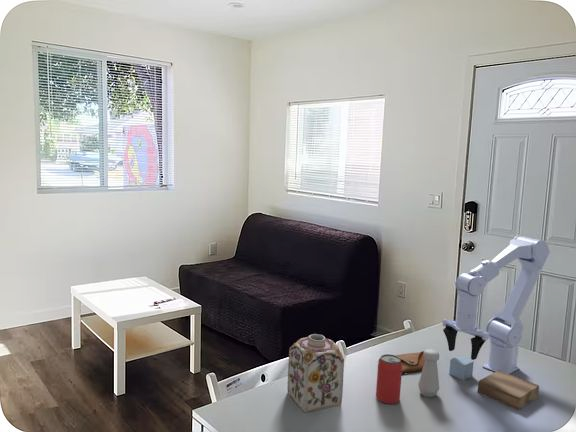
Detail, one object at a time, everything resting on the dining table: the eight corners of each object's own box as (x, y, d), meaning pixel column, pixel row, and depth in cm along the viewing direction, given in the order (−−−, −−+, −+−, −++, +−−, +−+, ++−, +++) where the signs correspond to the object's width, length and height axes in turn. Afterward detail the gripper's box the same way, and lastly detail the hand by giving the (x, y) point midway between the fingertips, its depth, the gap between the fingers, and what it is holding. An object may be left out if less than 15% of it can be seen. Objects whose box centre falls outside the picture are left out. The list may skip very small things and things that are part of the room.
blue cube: (457, 370, 156) (459, 355, 155) (472, 376, 152) (473, 361, 151) (449, 374, 152) (450, 359, 152) (463, 380, 149) (465, 365, 148)
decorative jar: (286, 392, 137) (288, 331, 134) (322, 385, 141) (325, 326, 139) (304, 414, 126) (307, 348, 124) (343, 406, 131) (346, 342, 128)
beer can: (385, 407, 131) (388, 365, 129) (370, 395, 137) (373, 355, 135) (404, 402, 134) (407, 361, 132) (389, 391, 140) (392, 351, 138)
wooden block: (497, 382, 149) (498, 370, 149) (537, 398, 140) (539, 385, 139) (477, 393, 141) (478, 380, 141) (518, 411, 132) (519, 397, 132)
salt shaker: (439, 400, 136) (443, 356, 134) (418, 397, 137) (422, 353, 135) (437, 390, 142) (441, 348, 140) (417, 387, 143) (420, 345, 141)
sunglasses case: (392, 377, 148) (387, 354, 151) (380, 379, 155) (376, 357, 157) (439, 369, 155) (434, 348, 158) (426, 371, 161) (421, 351, 164)
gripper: (438, 308, 152) (435, 349, 154) (482, 322, 141) (477, 366, 143) (451, 304, 157) (447, 344, 159) (494, 317, 146) (489, 360, 147)
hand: (462, 354), depth 151 cm, fingers open, 7 cm apart
